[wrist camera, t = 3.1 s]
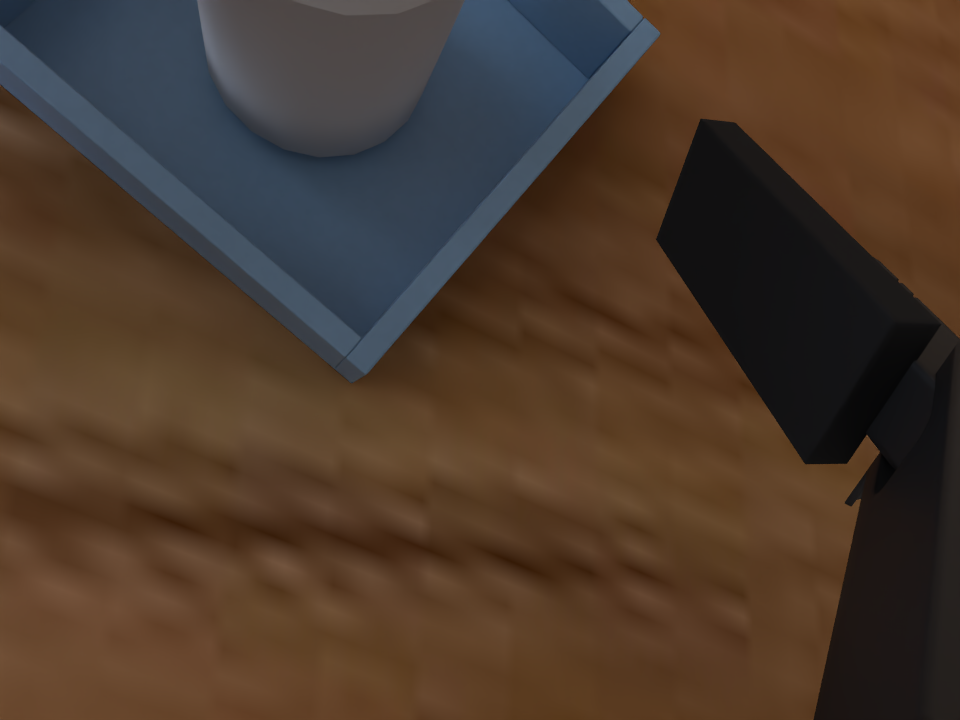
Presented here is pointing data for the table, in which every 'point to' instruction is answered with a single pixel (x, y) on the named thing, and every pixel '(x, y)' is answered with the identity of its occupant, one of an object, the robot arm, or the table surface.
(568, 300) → the table surface
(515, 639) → the table surface
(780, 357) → the robot arm
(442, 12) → the can
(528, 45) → the tray
